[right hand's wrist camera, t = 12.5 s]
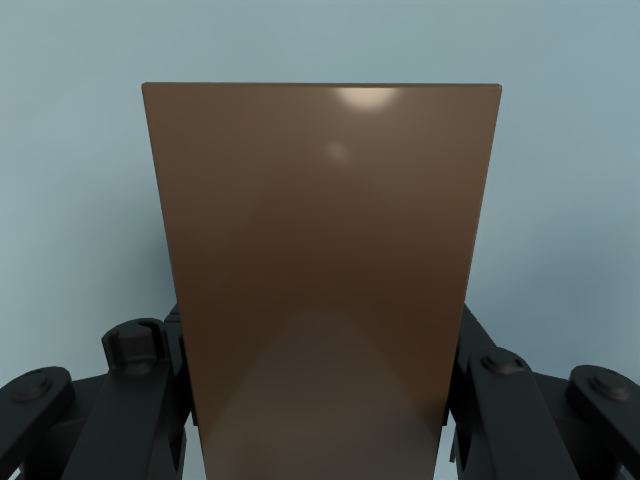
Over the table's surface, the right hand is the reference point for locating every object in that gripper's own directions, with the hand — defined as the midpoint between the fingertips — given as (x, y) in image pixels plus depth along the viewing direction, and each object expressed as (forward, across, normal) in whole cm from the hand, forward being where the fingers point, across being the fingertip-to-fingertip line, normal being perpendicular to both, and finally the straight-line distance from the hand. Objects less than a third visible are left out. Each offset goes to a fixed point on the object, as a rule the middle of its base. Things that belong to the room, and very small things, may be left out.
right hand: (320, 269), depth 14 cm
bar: (+1, 0, -34) cm, 34 cm away
